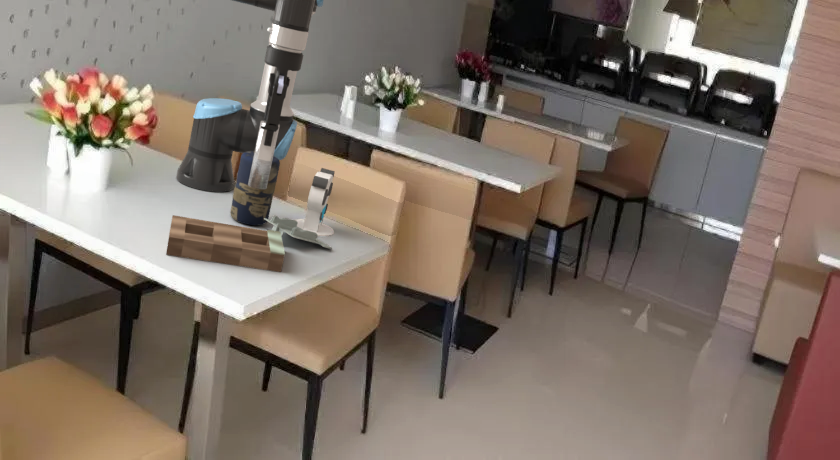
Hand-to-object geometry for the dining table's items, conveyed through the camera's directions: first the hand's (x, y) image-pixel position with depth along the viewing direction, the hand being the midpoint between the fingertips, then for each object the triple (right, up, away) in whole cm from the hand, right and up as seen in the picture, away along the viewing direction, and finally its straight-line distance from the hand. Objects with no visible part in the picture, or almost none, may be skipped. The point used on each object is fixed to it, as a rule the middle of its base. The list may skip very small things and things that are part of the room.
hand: (263, 156), depth 175 cm
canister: (-9, -14, +29) cm, 33 cm away
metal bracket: (+3, -18, +23) cm, 30 cm away
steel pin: (-2, -6, +2) cm, 7 cm away
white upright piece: (+5, -15, +36) cm, 40 cm away
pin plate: (-10, -20, +5) cm, 23 cm away
